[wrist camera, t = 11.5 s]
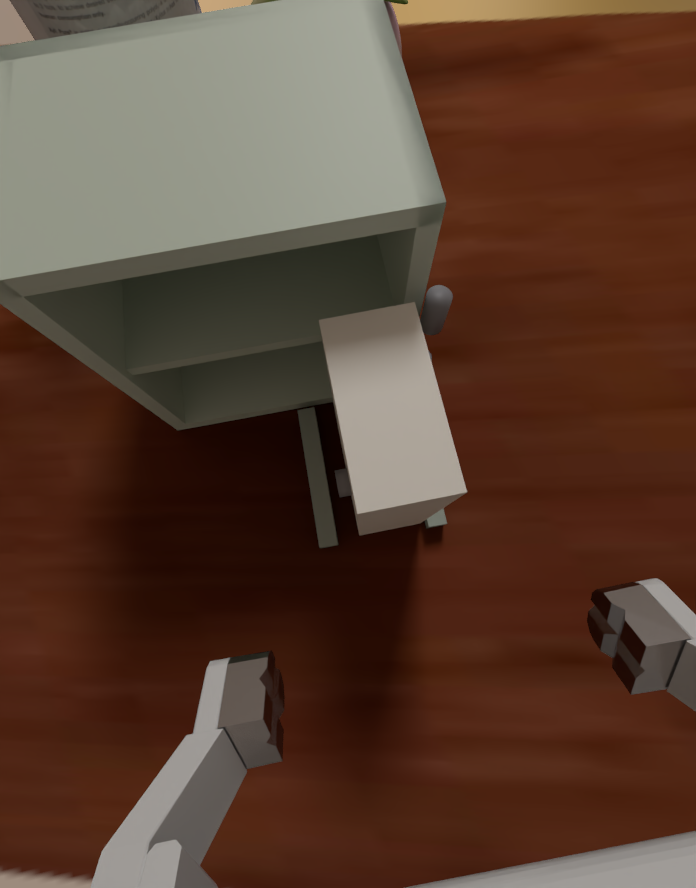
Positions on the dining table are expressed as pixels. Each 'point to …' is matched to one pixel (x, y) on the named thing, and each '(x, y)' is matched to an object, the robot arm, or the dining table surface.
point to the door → (389, 419)
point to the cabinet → (217, 205)
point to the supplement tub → (95, 14)
